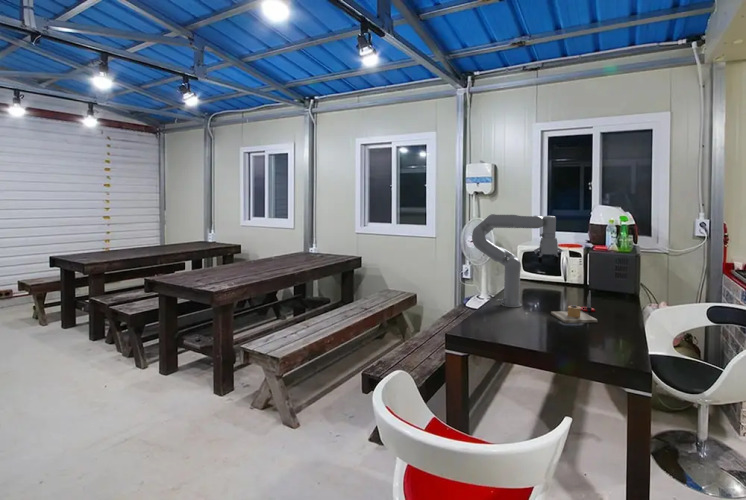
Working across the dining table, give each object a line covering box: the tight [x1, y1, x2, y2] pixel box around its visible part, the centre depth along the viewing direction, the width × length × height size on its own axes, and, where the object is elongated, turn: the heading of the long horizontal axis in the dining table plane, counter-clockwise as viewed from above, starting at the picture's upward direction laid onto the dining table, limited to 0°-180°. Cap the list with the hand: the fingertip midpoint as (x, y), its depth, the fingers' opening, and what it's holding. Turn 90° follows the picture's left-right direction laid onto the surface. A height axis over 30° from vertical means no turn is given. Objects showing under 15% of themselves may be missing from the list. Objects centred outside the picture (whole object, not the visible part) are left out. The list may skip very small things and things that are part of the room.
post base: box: [550, 304, 598, 324], centre depth 243 cm, size 18×18×8 cm
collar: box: [567, 305, 582, 317], centre depth 243 cm, size 6×6×5 cm
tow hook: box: [580, 290, 596, 313], centre depth 260 cm, size 8×13×9 cm
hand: (547, 263), depth 264 cm, fingers open, 9 cm apart
